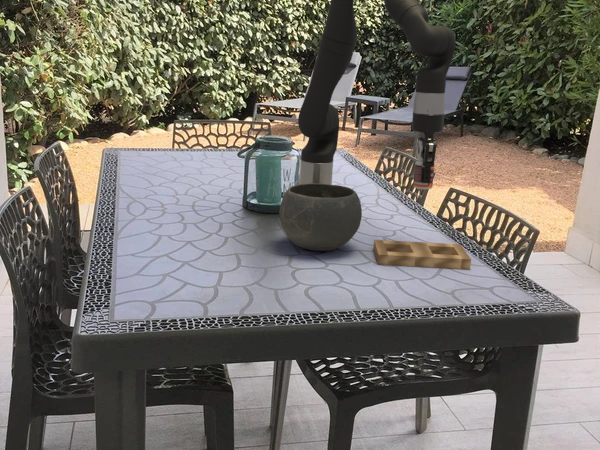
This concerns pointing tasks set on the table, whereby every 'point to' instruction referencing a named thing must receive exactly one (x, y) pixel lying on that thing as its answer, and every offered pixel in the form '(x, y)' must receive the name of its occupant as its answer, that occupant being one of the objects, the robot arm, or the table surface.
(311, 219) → the bowl
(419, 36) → the robot arm
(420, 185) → the pill bottle
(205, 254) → the table surface
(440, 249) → the holder block
